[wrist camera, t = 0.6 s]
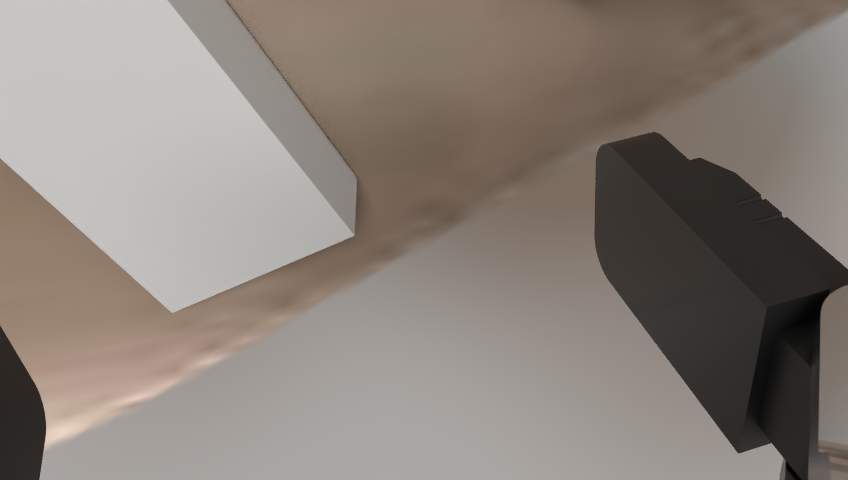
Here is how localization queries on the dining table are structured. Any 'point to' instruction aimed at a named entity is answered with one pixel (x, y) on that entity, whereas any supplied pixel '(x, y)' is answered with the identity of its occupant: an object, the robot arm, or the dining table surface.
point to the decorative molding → (168, 141)
